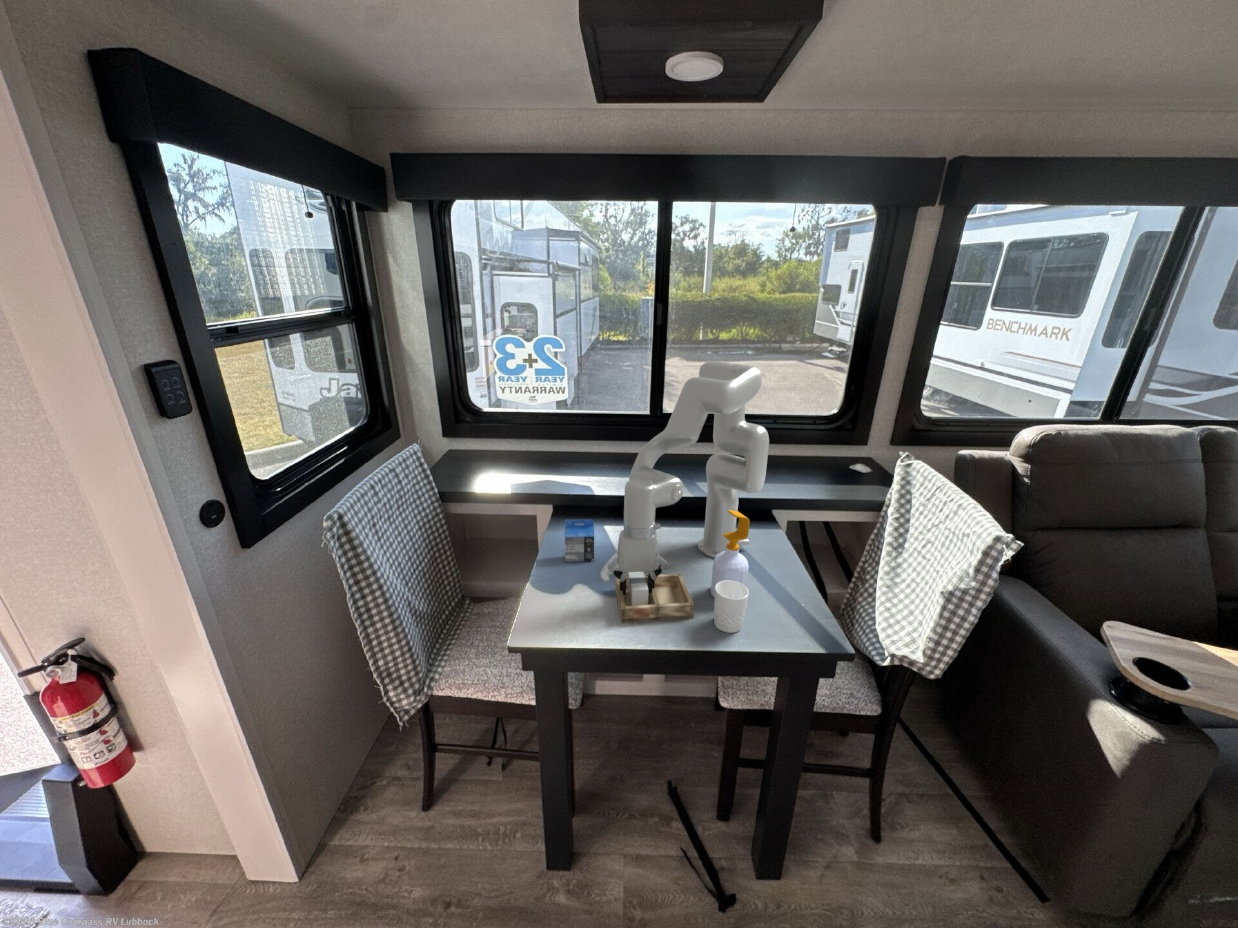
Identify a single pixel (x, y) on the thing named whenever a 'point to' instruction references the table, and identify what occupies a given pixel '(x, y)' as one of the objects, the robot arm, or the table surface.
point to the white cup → (730, 605)
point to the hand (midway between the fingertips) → (636, 590)
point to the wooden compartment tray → (658, 601)
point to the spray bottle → (732, 556)
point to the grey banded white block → (637, 588)
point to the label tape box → (579, 540)
